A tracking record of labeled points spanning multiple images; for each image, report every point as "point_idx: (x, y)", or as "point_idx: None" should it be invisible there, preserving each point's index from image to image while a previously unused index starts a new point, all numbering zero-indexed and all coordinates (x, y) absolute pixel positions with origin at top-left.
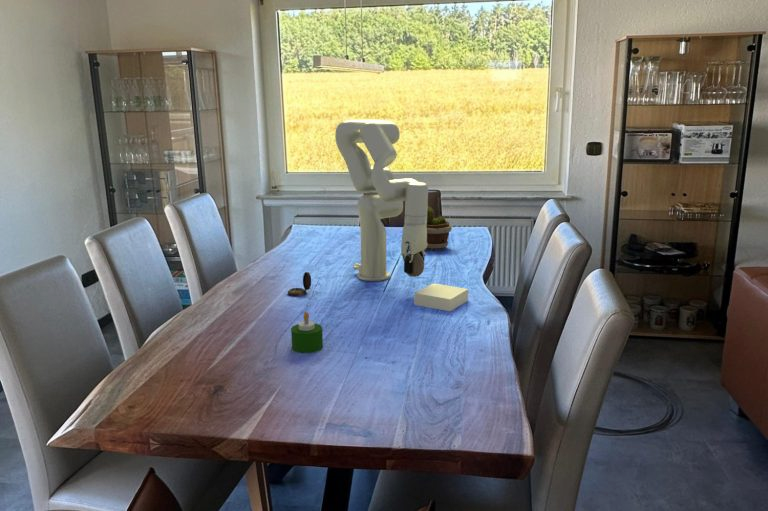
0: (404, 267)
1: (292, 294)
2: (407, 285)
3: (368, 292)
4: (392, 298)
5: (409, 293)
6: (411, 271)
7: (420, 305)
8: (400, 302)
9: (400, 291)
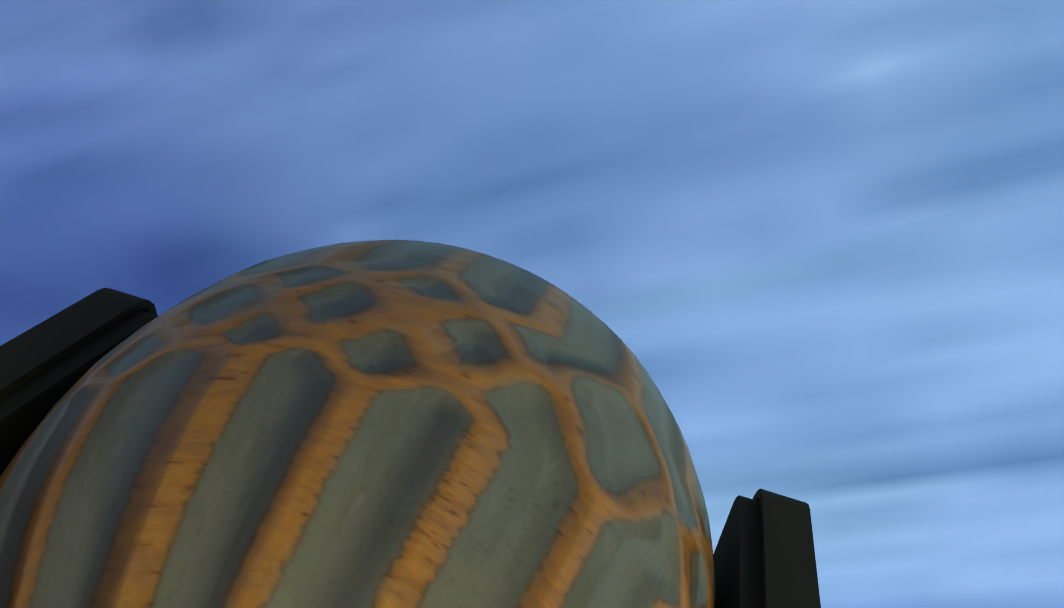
0: (14, 354)
1: None
2: (1019, 28)
3: None
4: (142, 8)
5: (500, 209)
6: None
7: None
8: (34, 193)
9: (564, 16)
